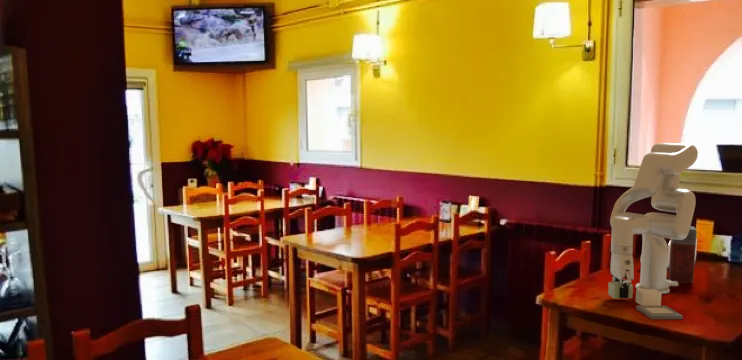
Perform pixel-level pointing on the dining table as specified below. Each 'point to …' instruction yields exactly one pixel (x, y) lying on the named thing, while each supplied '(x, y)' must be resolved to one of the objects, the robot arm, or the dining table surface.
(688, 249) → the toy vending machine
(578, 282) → the dining table surface
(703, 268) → the dining table surface
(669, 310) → the baseplate
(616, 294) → the sage brick
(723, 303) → the dining table surface
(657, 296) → the cream brick
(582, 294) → the dining table surface
